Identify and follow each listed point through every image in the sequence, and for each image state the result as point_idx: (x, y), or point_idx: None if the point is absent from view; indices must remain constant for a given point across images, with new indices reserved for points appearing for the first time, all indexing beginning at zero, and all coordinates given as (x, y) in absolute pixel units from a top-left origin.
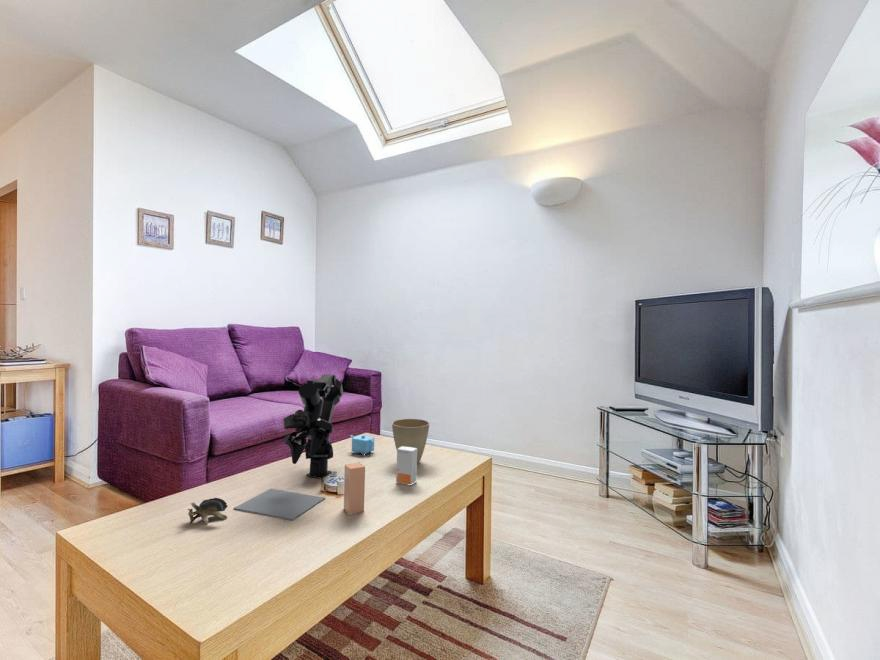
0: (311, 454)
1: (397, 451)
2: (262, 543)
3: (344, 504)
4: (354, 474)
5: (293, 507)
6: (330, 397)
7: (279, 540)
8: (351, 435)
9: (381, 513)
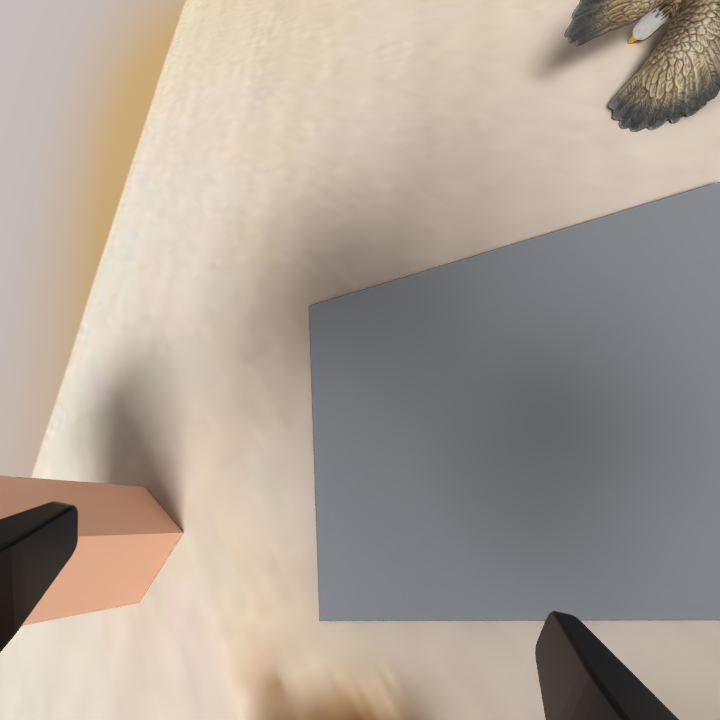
0: (52, 515)
1: None
2: (296, 150)
3: (156, 525)
4: None
5: (392, 397)
6: None
7: (263, 194)
8: None
9: None
